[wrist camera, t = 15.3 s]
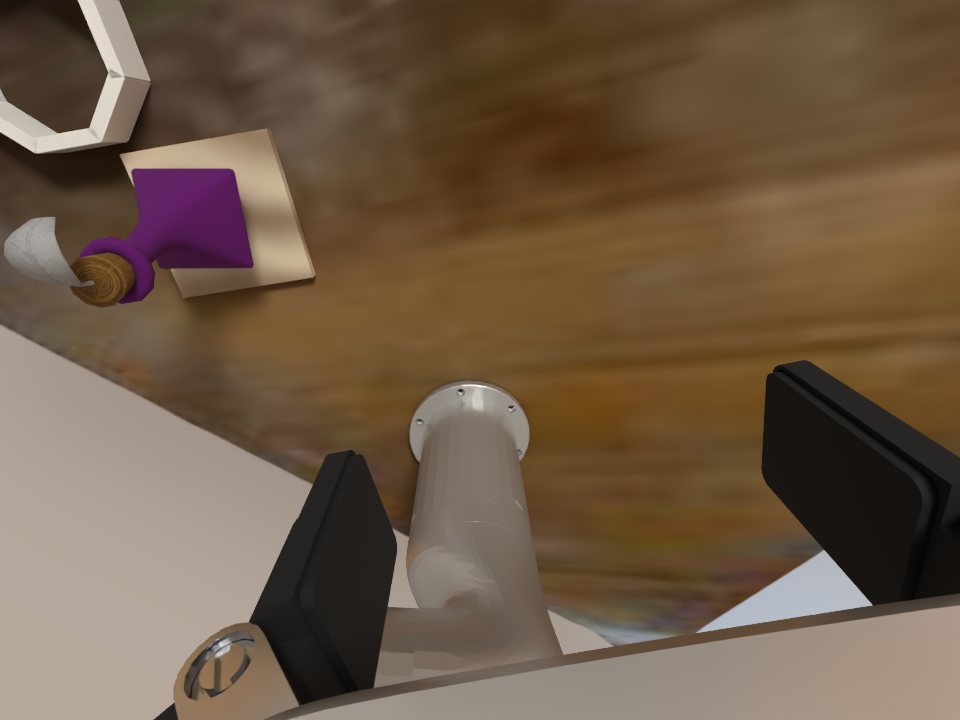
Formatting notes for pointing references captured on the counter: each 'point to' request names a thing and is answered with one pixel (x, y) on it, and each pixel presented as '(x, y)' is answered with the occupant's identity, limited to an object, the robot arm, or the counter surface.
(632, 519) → the counter surface
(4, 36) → the counter surface
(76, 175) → the counter surface
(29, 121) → the holder ring
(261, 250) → the coaster board
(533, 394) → the counter surface
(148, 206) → the perfume bottle
